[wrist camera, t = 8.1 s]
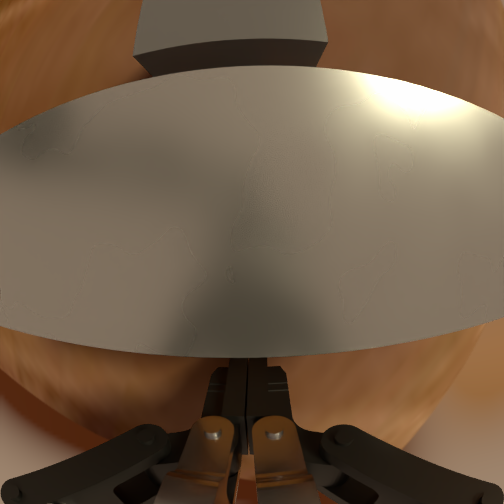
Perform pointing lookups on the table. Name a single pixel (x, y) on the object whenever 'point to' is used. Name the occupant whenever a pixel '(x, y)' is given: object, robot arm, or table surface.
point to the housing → (253, 215)
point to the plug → (228, 34)
